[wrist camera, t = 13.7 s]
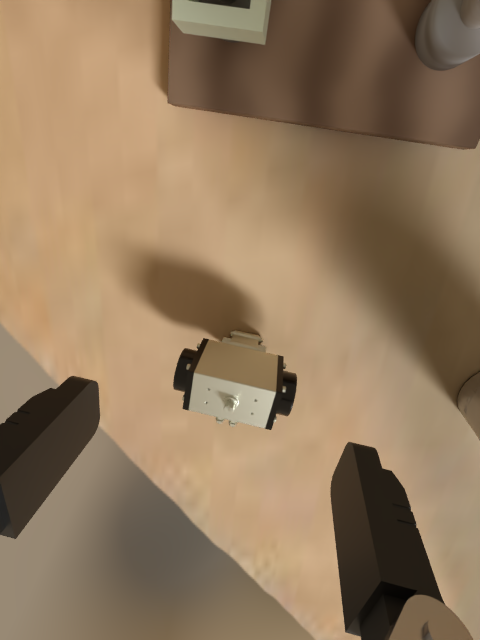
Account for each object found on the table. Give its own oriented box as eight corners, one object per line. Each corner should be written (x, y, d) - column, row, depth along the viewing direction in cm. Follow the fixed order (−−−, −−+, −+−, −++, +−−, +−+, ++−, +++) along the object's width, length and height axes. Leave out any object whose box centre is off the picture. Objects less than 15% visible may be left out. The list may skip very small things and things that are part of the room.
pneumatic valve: (201, 316, 39) (168, 374, 28) (295, 337, 38) (298, 405, 28) (195, 353, 41) (163, 420, 31) (284, 374, 41) (283, 449, 30)
